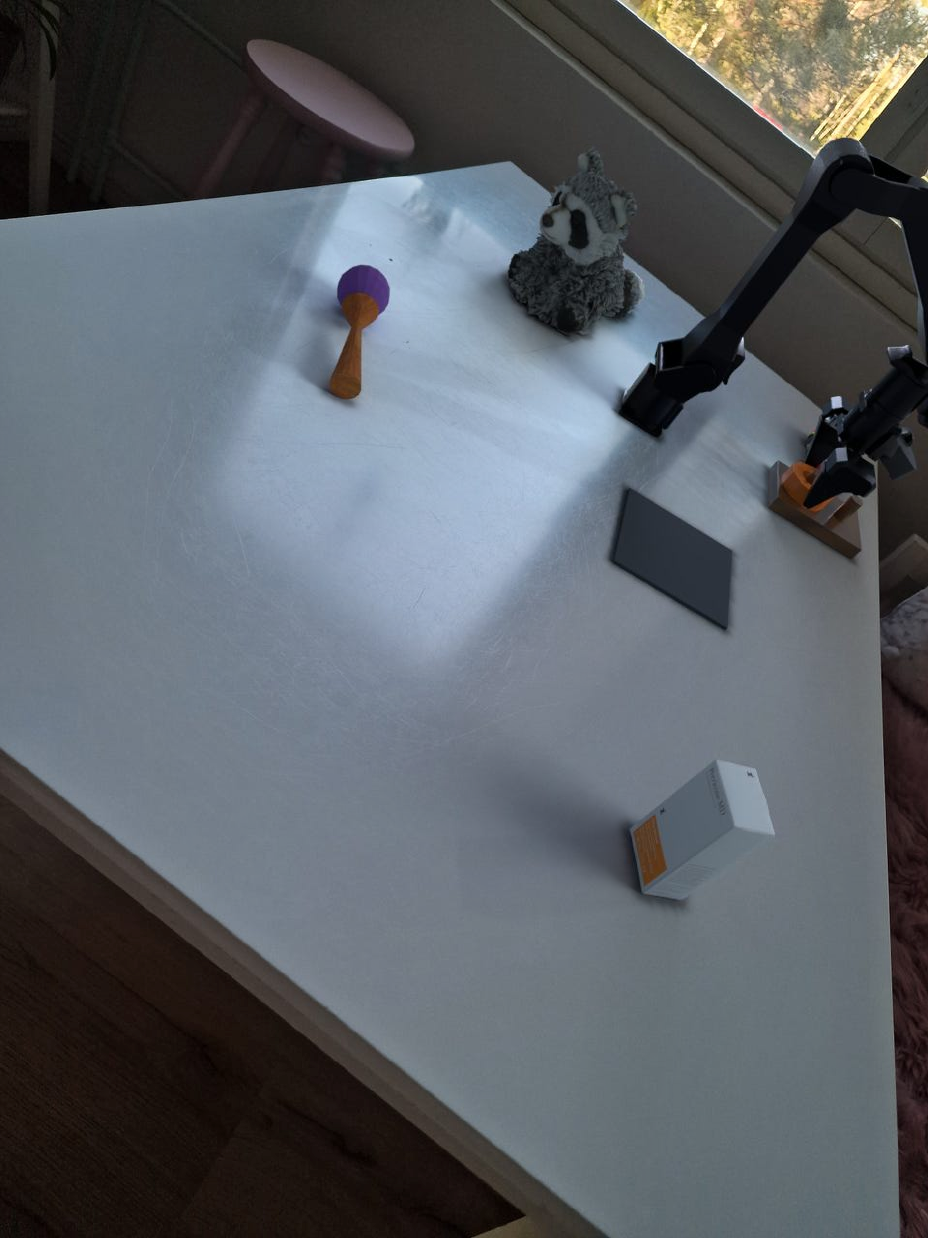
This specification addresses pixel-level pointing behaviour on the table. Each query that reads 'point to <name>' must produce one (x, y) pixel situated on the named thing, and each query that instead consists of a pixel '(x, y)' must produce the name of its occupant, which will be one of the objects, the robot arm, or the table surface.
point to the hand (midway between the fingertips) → (805, 488)
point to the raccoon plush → (580, 254)
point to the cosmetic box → (701, 830)
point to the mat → (674, 558)
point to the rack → (818, 514)
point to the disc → (799, 484)
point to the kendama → (357, 323)
